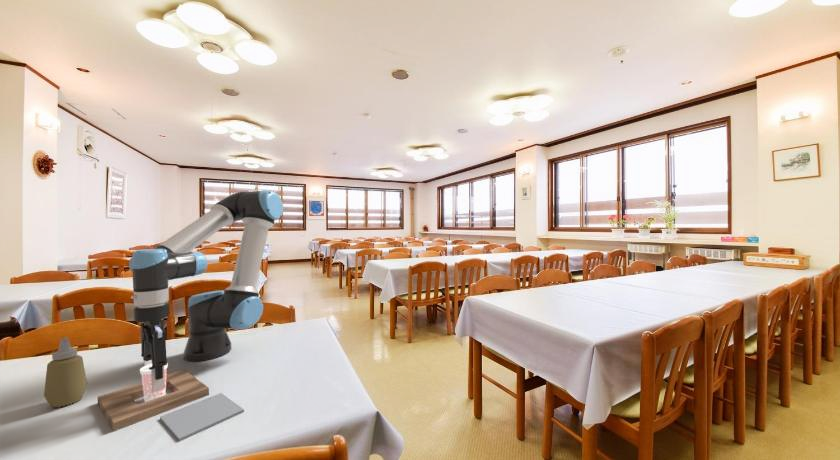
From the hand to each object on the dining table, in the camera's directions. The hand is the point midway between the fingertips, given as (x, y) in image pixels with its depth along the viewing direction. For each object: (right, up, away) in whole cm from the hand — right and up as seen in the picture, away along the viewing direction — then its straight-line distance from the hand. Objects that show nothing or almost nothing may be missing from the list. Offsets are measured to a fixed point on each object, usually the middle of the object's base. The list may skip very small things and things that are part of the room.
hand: (154, 386), depth 90 cm
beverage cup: (0, -4, 0) cm, 4 cm away
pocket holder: (0, -4, 0) cm, 4 cm away
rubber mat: (+19, -3, -8) cm, 21 cm away
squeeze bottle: (-23, -4, -1) cm, 24 cm away
